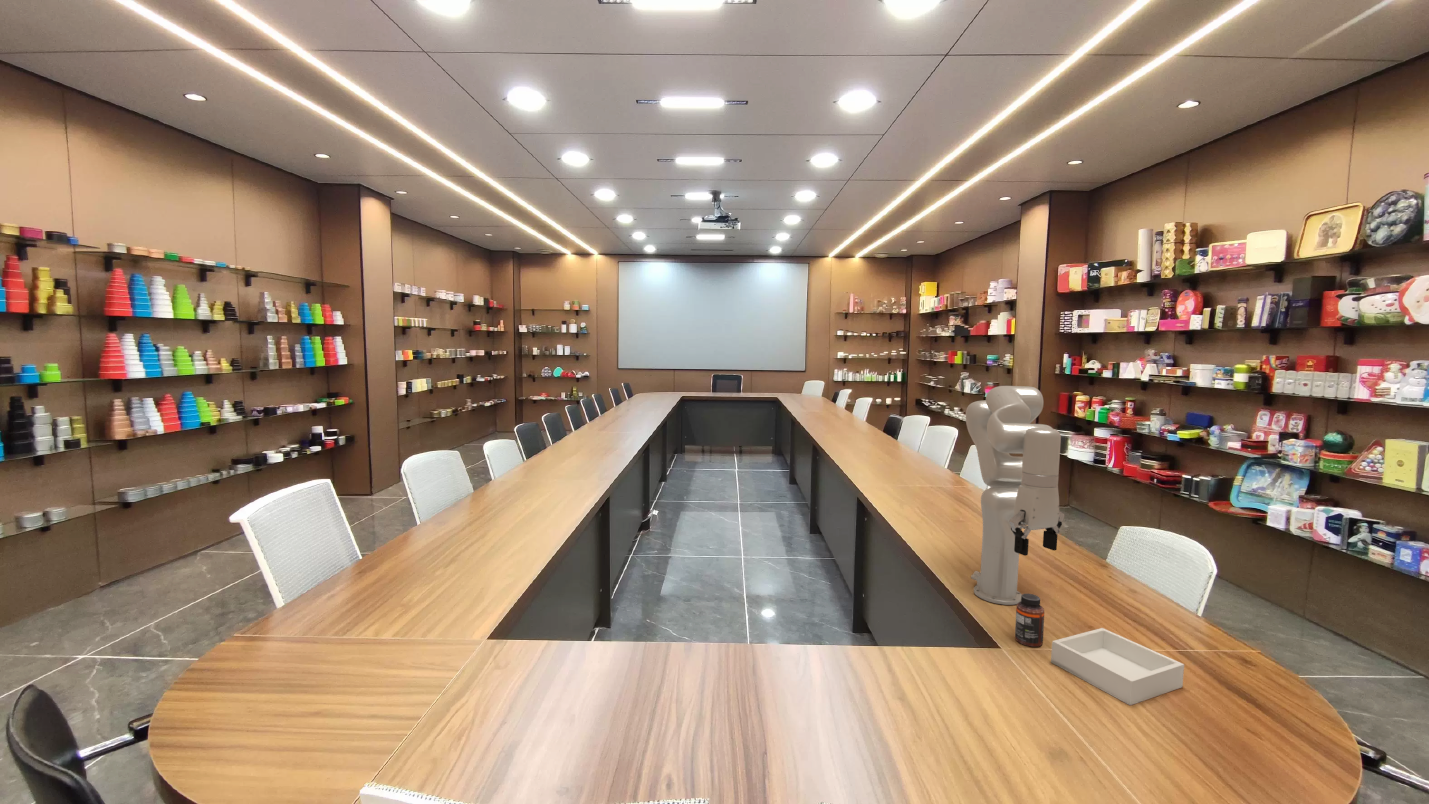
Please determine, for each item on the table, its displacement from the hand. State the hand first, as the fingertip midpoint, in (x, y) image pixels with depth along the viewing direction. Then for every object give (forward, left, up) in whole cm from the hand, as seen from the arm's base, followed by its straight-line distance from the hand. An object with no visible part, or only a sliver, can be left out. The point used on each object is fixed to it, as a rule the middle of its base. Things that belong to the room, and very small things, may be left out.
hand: (1035, 551), depth 136 cm
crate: (+17, +5, -23) cm, 29 cm away
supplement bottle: (0, 0, -23) cm, 23 cm away
